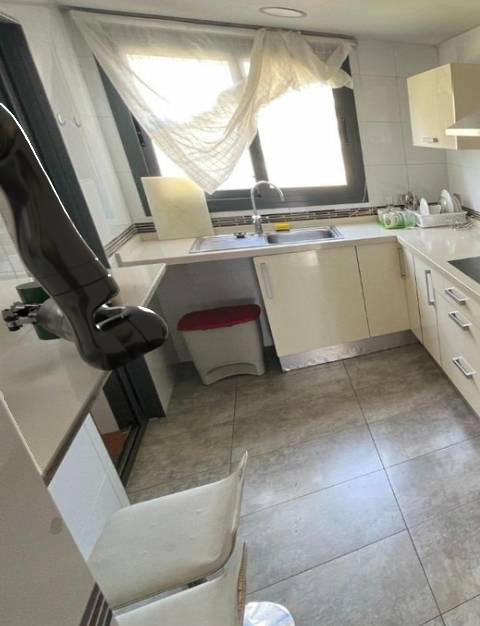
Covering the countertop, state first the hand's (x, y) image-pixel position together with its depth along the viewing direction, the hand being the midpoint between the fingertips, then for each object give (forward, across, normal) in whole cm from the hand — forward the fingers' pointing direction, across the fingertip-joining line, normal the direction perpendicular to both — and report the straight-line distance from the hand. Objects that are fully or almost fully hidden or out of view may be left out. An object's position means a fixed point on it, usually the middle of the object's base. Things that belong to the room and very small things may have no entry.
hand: (41, 302), depth 85 cm
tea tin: (-3, 0, +6) cm, 7 cm away
